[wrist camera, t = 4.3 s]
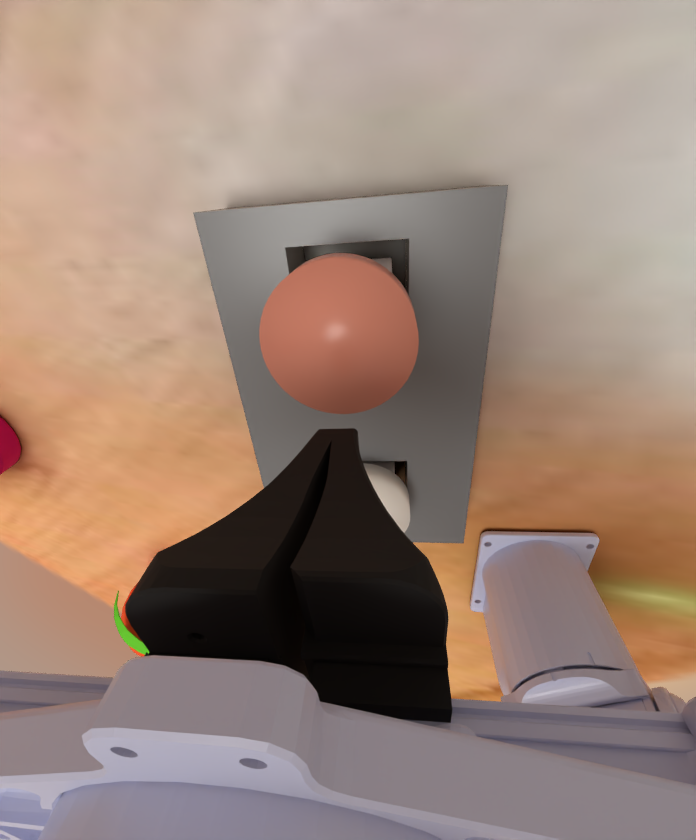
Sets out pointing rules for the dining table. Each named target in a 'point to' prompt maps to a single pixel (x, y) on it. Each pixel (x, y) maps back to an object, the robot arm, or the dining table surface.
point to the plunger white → (390, 490)
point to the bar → (436, 321)
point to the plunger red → (340, 333)
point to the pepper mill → (8, 446)
